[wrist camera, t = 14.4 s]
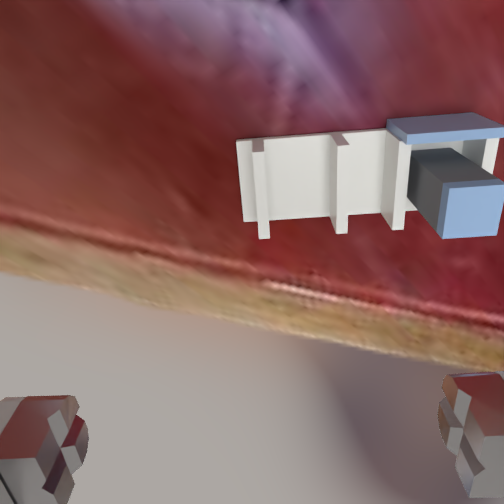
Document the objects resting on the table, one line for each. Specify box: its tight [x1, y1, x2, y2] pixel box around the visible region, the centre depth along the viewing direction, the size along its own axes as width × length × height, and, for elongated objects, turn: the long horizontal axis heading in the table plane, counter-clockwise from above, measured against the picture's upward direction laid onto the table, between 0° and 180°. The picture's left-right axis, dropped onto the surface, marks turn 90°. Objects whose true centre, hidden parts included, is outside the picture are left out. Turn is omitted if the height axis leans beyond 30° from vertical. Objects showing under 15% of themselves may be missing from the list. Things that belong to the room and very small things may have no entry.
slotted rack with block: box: [236, 112, 504, 239], centre depth 38 cm, size 23×9×6 cm, turn 95°
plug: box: [407, 148, 504, 239], centre depth 36 cm, size 4×4×10 cm
